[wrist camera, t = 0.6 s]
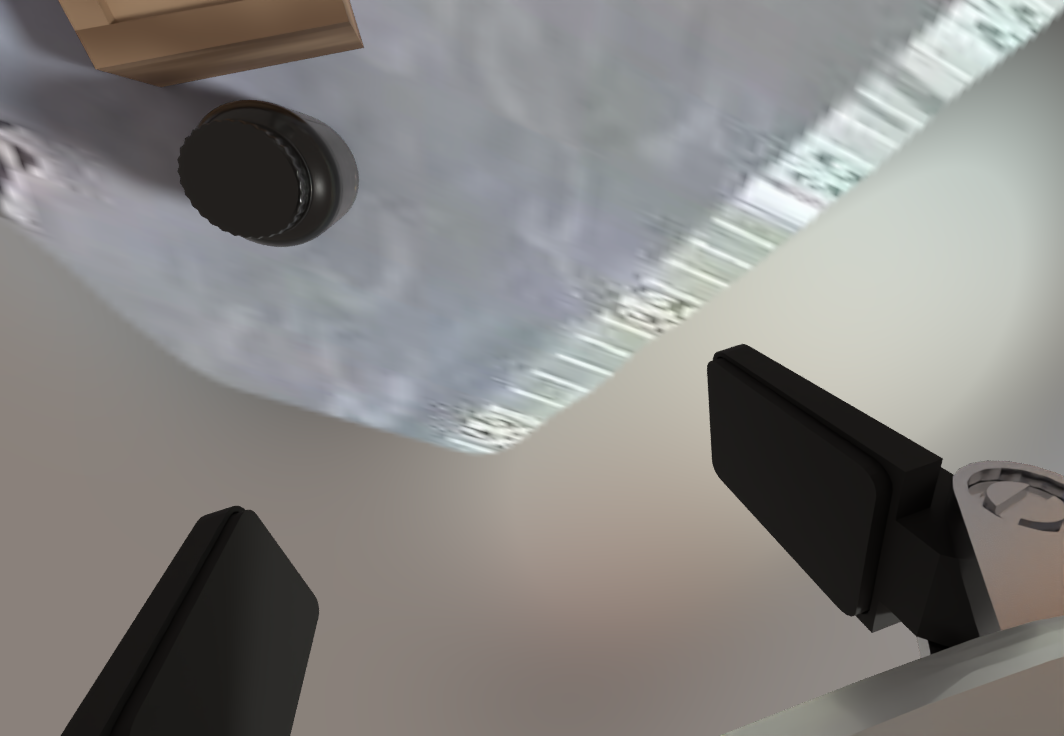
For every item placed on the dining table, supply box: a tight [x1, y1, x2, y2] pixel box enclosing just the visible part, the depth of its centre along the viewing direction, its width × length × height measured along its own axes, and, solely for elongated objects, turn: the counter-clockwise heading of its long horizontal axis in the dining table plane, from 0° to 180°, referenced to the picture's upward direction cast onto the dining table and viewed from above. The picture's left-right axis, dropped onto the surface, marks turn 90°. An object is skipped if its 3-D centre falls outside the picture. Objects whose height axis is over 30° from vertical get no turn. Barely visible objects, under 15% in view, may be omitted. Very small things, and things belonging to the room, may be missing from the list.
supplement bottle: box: [178, 100, 359, 247], centre depth 24 cm, size 7×7×12 cm
